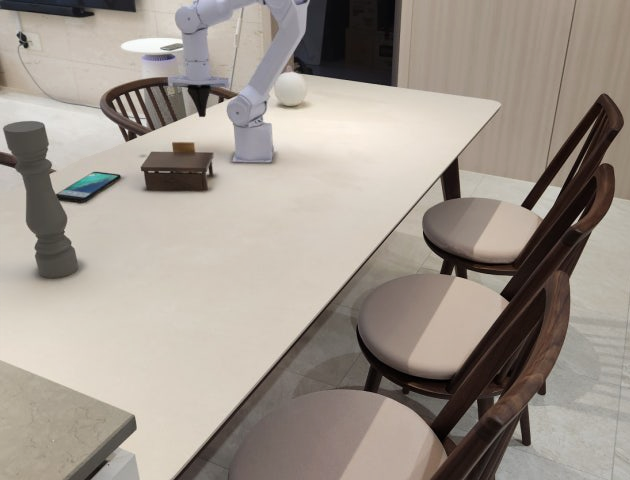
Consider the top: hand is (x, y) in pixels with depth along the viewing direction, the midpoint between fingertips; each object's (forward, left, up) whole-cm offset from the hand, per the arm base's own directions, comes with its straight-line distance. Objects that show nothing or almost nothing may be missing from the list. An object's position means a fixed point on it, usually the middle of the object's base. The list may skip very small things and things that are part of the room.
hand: (202, 115), depth 159 cm
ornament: (-20, -44, -9) cm, 49 cm away
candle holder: (+15, +62, -9) cm, 65 cm away
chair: (+2, +18, -9) cm, 20 cm away
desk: (+2, +22, -9) cm, 24 cm away
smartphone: (+21, +26, -9) cm, 35 cm away
